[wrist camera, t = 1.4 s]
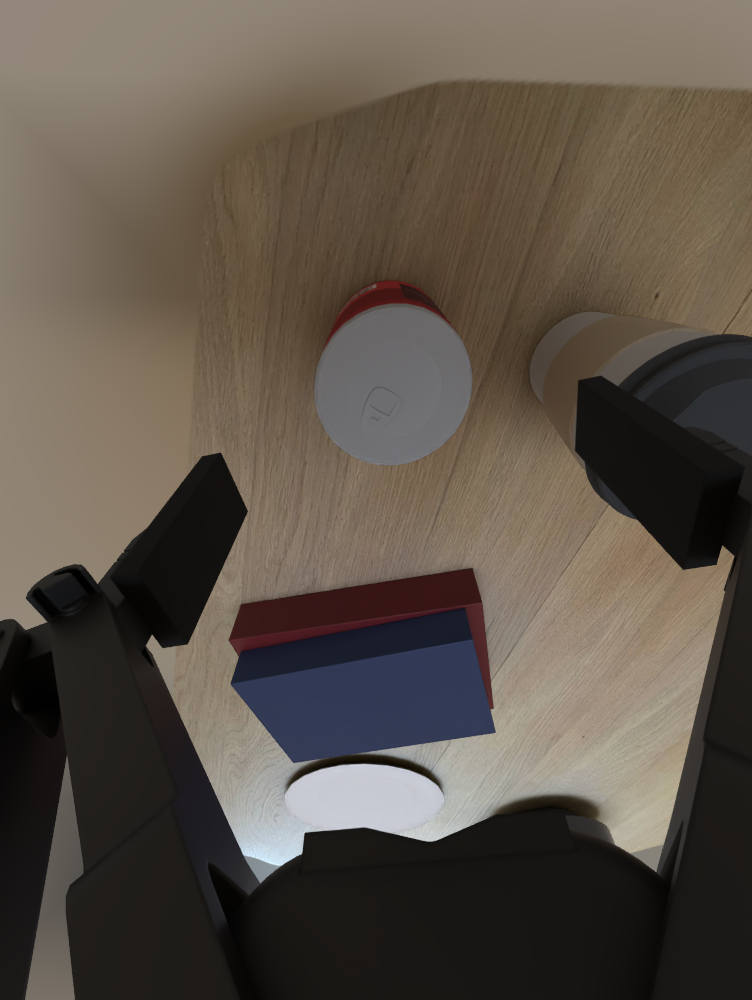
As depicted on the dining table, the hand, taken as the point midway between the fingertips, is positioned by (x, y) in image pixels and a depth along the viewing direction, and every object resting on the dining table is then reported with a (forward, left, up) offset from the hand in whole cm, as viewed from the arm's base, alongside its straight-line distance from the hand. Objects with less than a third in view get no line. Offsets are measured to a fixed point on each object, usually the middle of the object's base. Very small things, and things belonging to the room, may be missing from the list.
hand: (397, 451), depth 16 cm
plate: (+67, -17, -17) cm, 71 cm away
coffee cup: (+4, +13, -17) cm, 22 cm away
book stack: (+31, -8, -17) cm, 36 cm away
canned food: (0, 0, -17) cm, 17 cm away
